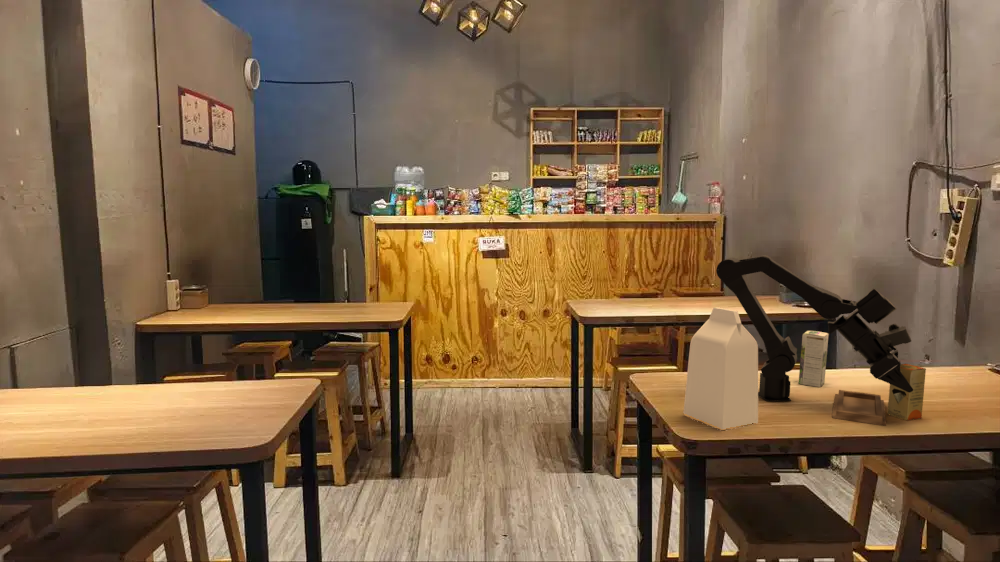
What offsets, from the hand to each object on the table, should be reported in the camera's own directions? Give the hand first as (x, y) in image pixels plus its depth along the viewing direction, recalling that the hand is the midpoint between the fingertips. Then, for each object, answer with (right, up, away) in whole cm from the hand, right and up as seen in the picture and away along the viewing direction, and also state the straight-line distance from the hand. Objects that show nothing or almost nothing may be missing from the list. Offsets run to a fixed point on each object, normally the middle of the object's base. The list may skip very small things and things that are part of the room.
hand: (910, 386), depth 156 cm
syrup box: (-10, -4, +29) cm, 31 cm away
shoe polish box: (-1, -7, +1) cm, 8 cm away
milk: (-46, -8, -2) cm, 46 cm away
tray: (-9, -7, +6) cm, 13 cm away
